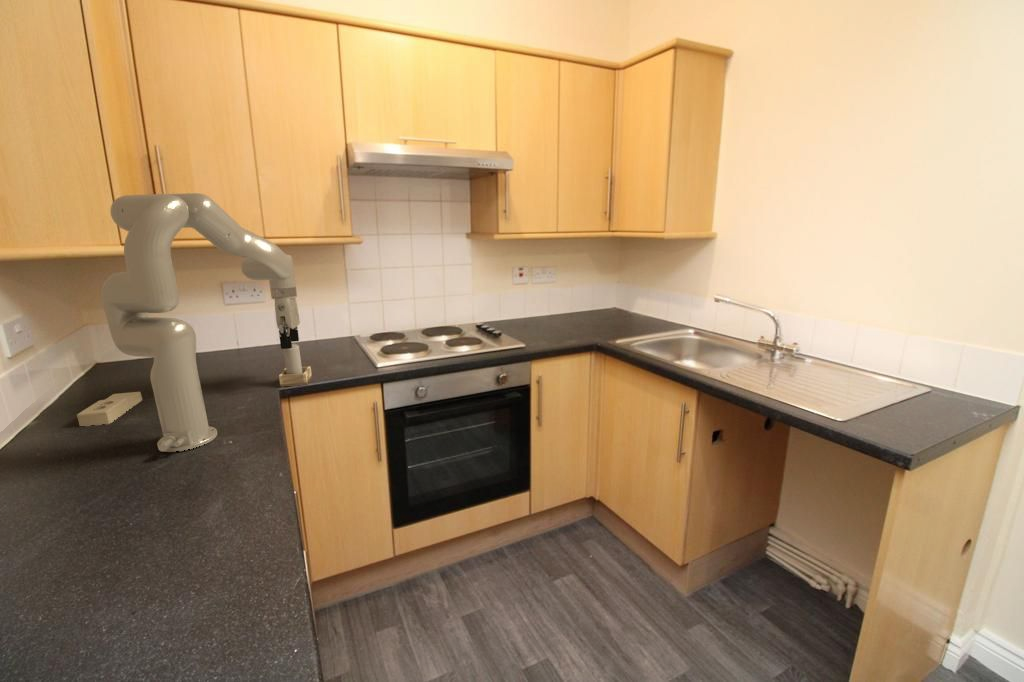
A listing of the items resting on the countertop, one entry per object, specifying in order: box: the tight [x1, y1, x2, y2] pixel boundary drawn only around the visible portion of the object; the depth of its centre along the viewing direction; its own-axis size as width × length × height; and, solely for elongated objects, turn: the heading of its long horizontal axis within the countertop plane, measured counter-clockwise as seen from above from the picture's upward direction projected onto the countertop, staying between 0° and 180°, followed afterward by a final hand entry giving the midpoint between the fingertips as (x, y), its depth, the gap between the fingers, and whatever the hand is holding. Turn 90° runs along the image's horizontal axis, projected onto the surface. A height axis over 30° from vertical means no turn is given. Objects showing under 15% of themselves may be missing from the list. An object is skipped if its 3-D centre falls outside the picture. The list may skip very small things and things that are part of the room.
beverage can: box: [282, 343, 303, 375], centre depth 160 cm, size 5×5×12 cm
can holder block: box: [278, 365, 313, 386], centre depth 162 cm, size 8×8×4 cm
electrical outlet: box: [76, 391, 143, 427], centre depth 140 cm, size 7×4×18 cm
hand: (290, 344), depth 159 cm, fingers open, 9 cm apart
